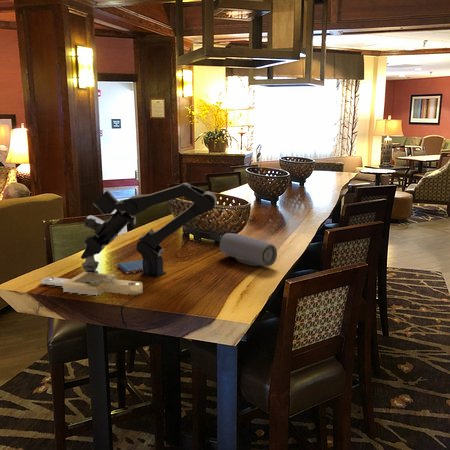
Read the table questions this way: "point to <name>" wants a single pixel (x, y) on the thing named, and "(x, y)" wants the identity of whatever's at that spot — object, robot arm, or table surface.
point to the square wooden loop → (104, 284)
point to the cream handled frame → (60, 283)
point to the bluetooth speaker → (248, 250)
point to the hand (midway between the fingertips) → (85, 254)
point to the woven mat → (131, 266)
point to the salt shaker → (90, 264)
